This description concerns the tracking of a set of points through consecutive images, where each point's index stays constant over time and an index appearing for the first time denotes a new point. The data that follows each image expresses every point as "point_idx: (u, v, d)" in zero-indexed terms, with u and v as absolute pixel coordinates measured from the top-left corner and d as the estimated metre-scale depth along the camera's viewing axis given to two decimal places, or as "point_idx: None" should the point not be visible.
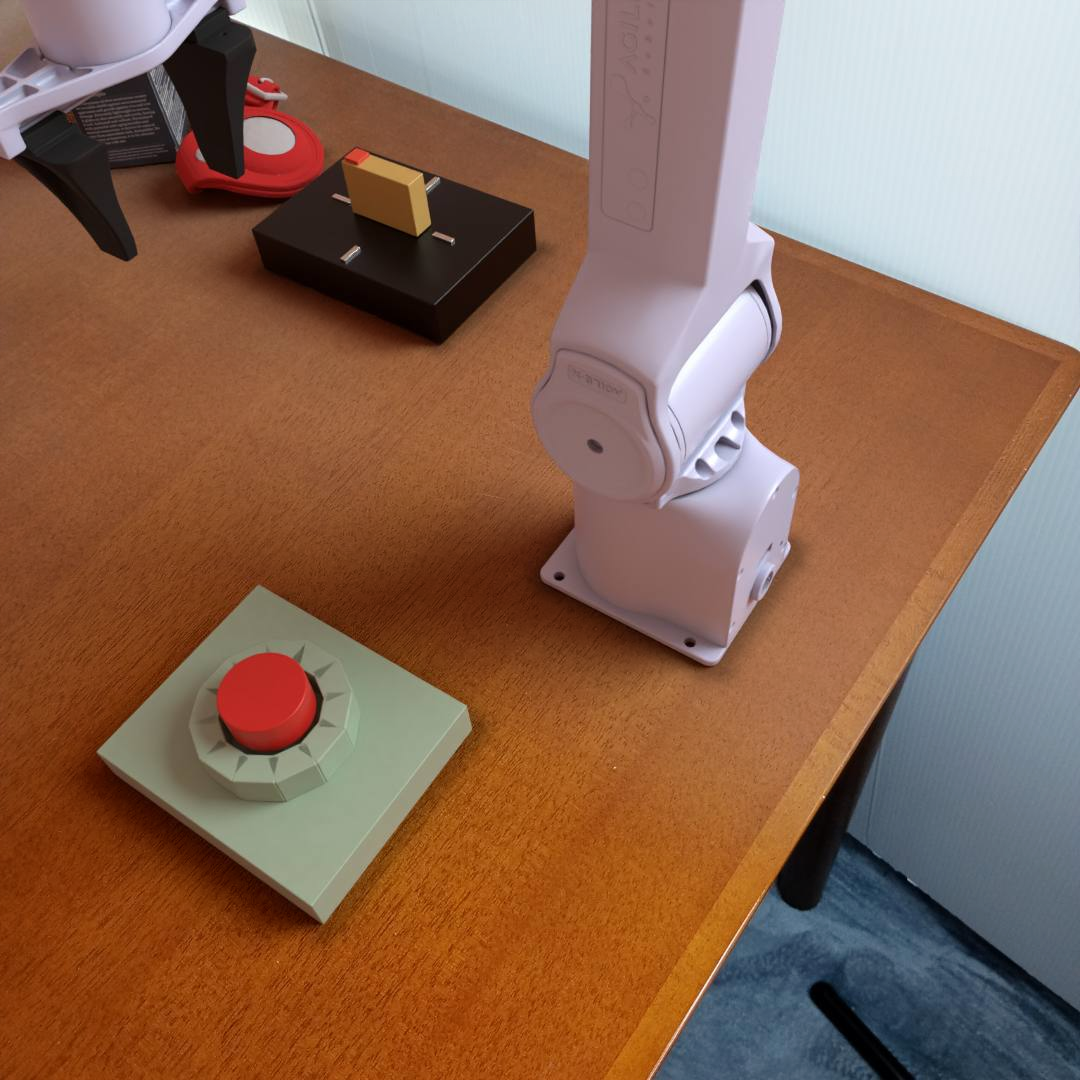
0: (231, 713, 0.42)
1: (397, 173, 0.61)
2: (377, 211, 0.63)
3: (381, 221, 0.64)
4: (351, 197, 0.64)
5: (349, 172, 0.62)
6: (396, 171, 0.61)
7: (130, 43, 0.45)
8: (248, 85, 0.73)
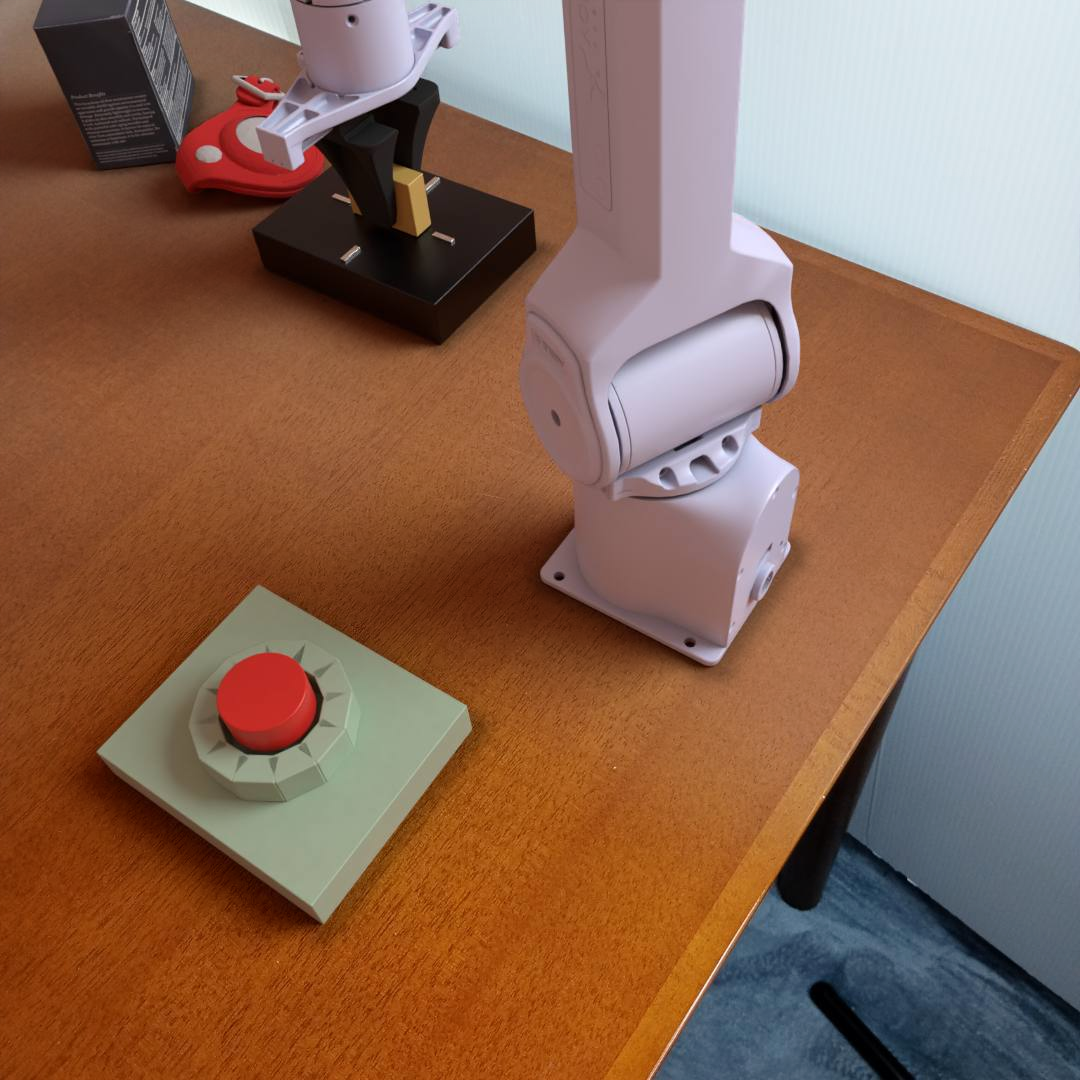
0: (231, 713, 0.42)
1: (397, 173, 0.61)
2: None
3: None
4: (351, 197, 0.64)
5: None
6: (396, 171, 0.61)
7: (389, 75, 0.55)
8: (248, 85, 0.73)
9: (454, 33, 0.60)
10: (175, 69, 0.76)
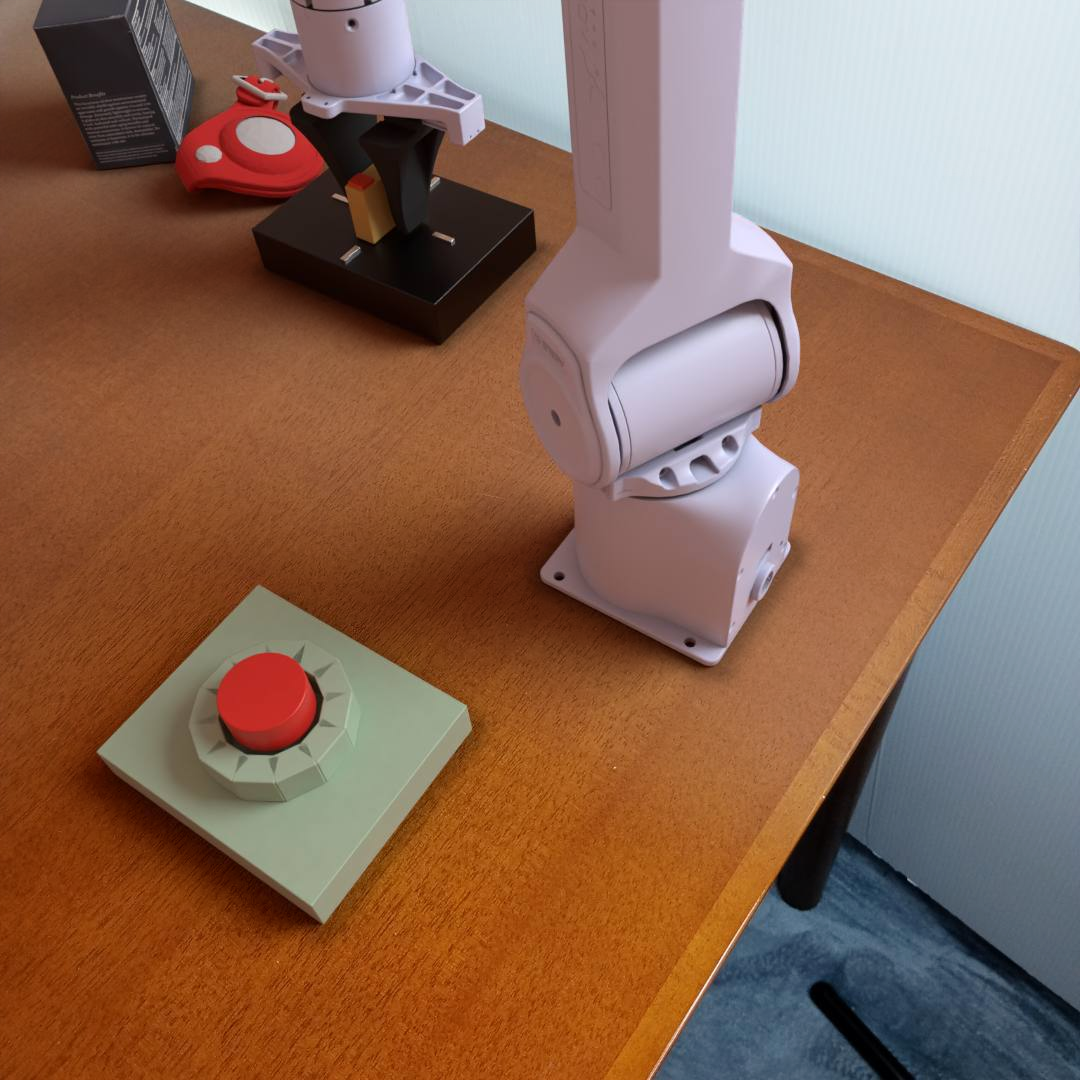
0: (231, 713, 0.42)
1: None
2: None
3: None
4: (373, 226, 0.62)
5: (370, 197, 0.61)
6: None
7: None
8: (248, 85, 0.73)
9: None
10: (175, 69, 0.76)
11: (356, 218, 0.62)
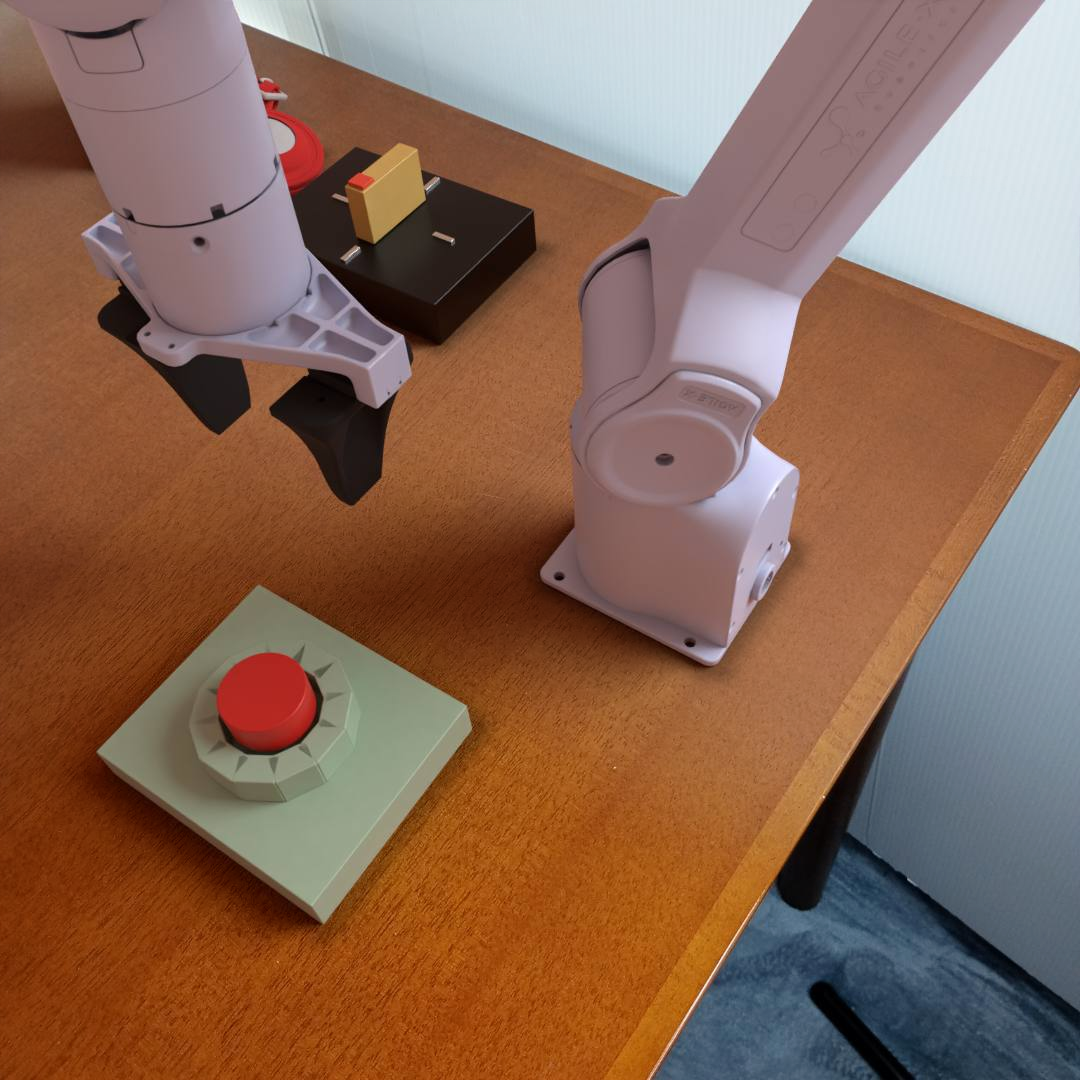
0: (231, 713, 0.42)
1: (395, 156, 0.62)
2: (394, 213, 0.63)
3: (398, 221, 0.64)
4: (373, 226, 0.62)
5: (370, 197, 0.61)
6: (391, 157, 0.62)
7: None
8: None
9: None
10: None
11: (356, 218, 0.62)
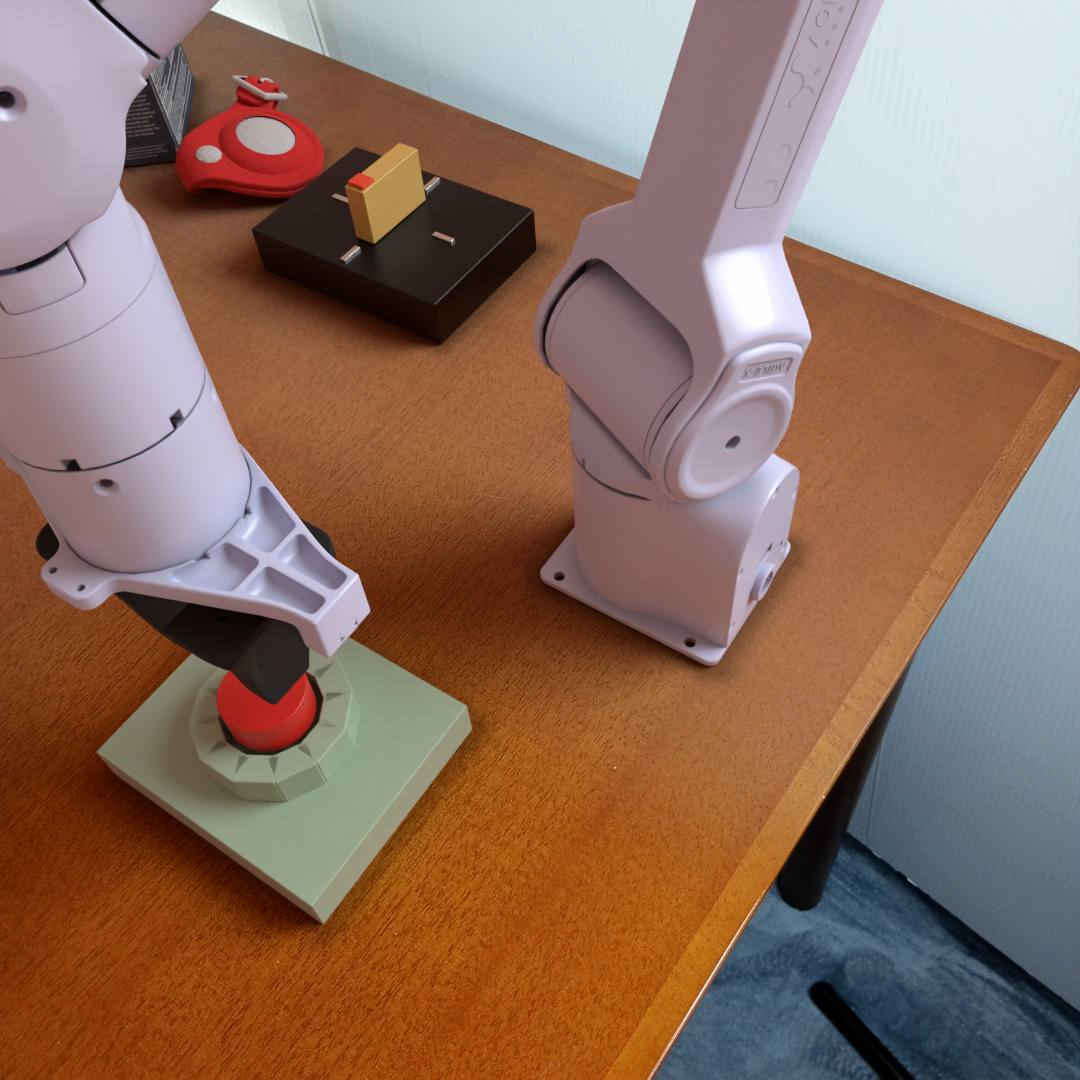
0: (231, 713, 0.42)
1: (395, 156, 0.62)
2: (394, 213, 0.63)
3: (398, 221, 0.64)
4: (373, 226, 0.62)
5: (370, 197, 0.61)
6: (391, 157, 0.62)
7: None
8: (248, 85, 0.73)
9: None
10: (175, 69, 0.76)
11: (356, 218, 0.62)
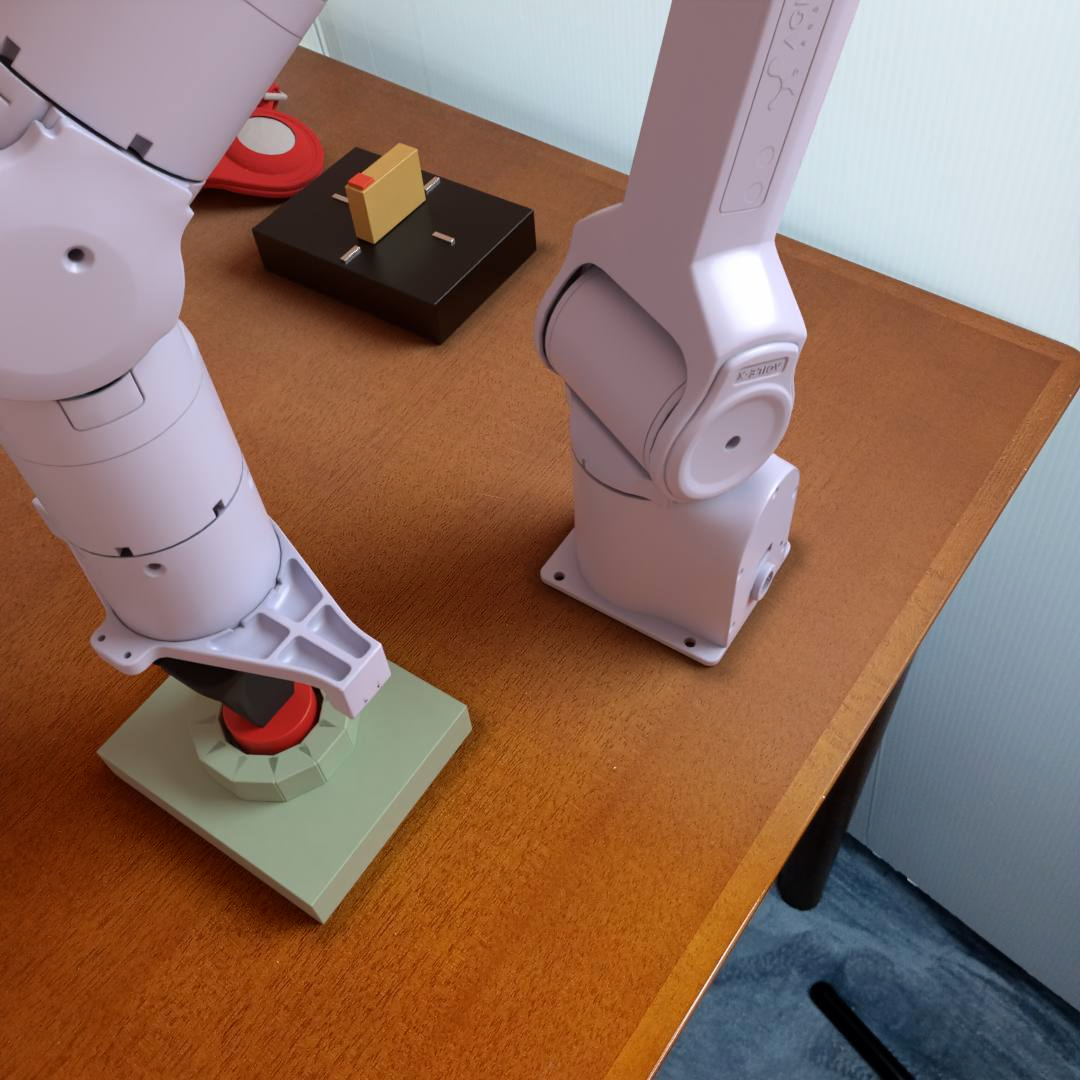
0: (237, 724, 0.42)
1: (395, 156, 0.62)
2: (394, 213, 0.63)
3: (398, 221, 0.64)
4: (373, 226, 0.62)
5: (370, 197, 0.61)
6: (391, 157, 0.62)
7: None
8: None
9: None
10: None
11: (356, 218, 0.62)
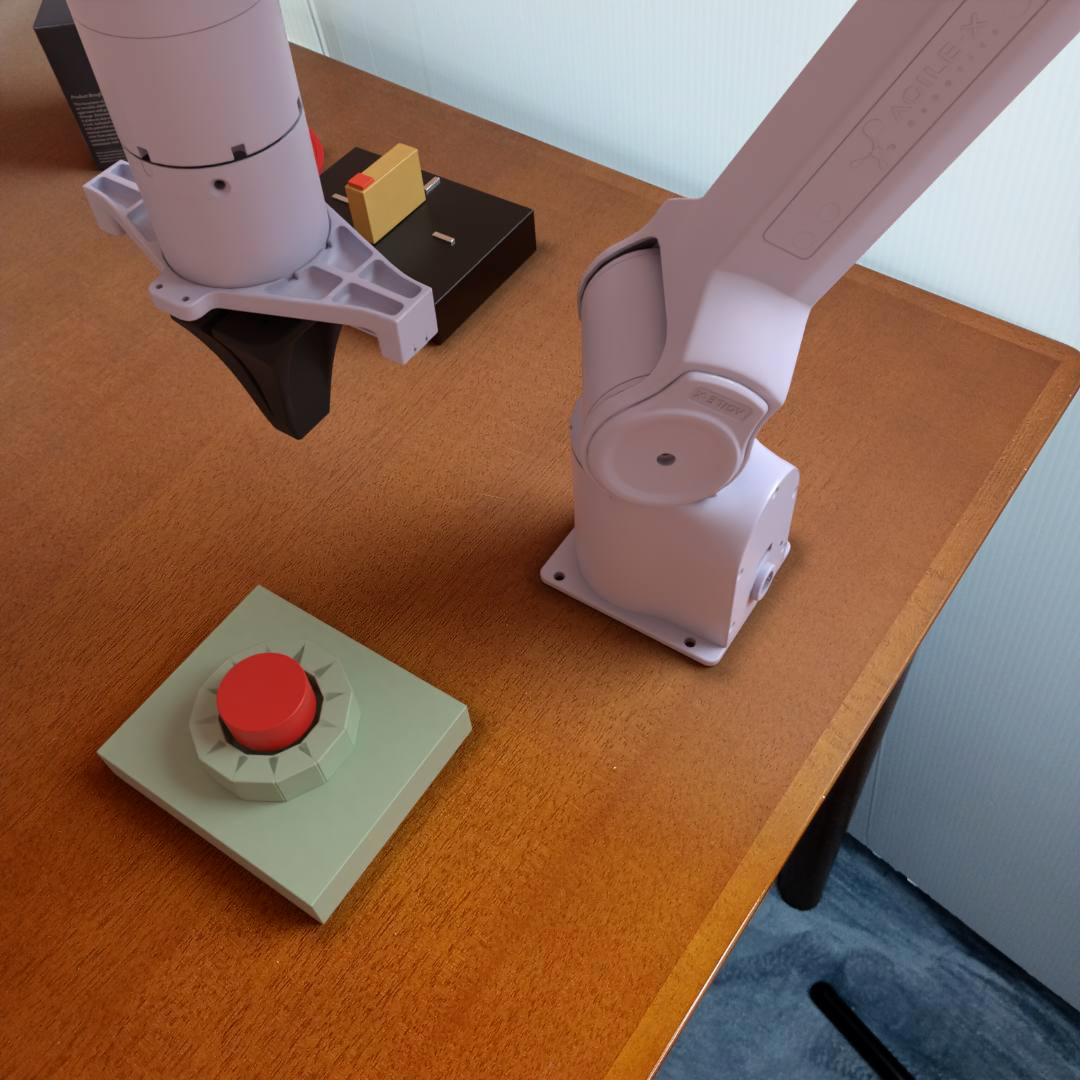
0: (231, 713, 0.42)
1: (395, 156, 0.62)
2: (394, 213, 0.63)
3: (398, 221, 0.64)
4: (373, 226, 0.62)
5: (370, 197, 0.61)
6: (391, 157, 0.62)
7: None
8: None
9: None
10: None
11: (356, 218, 0.62)
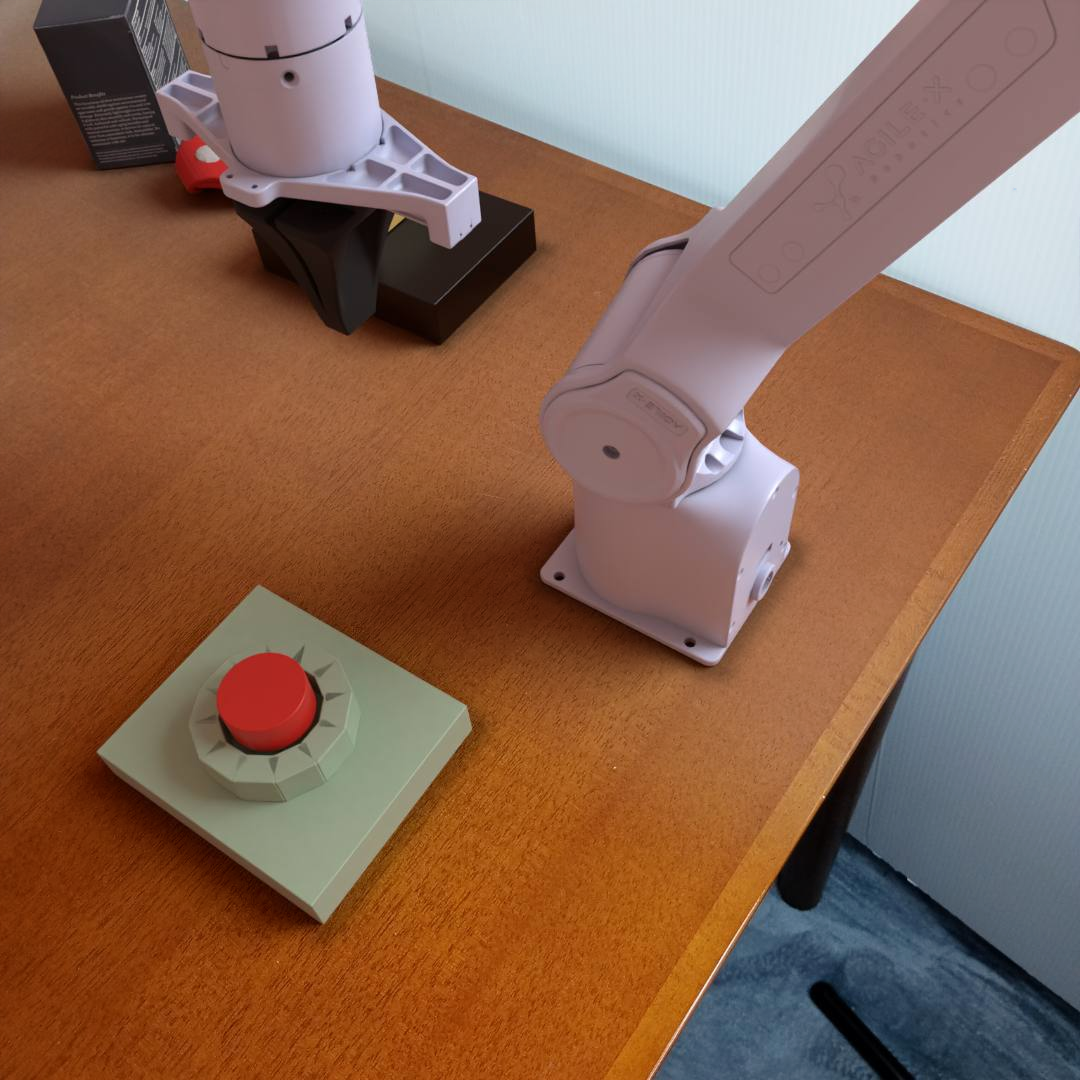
0: (231, 713, 0.42)
1: None
2: None
3: (398, 221, 0.64)
4: None
5: None
6: None
7: None
8: None
9: None
10: (175, 69, 0.76)
11: None
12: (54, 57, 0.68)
